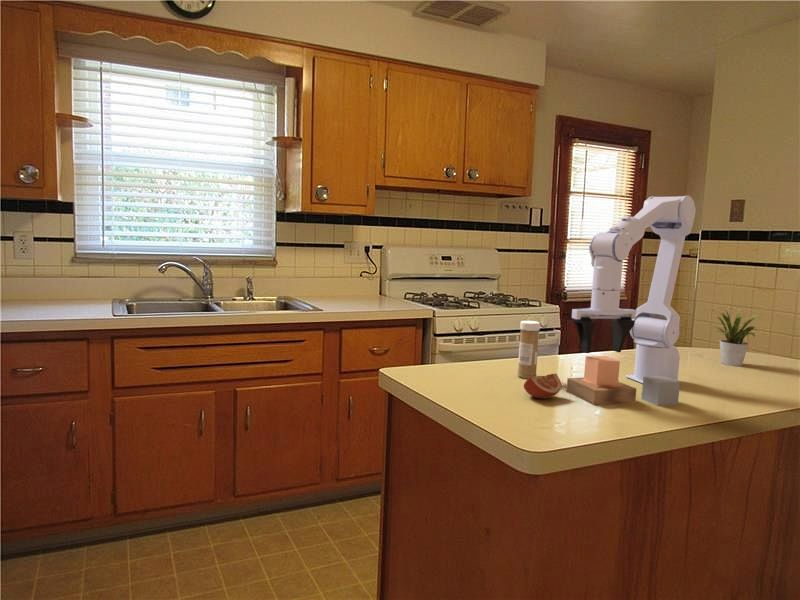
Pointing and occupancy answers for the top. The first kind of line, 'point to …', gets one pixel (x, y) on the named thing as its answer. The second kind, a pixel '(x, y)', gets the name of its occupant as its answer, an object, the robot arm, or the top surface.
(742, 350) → the house plant
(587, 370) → the terracotta cube
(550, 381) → the fruit slice
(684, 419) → the top surface
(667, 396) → the slate cube
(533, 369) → the sprinkles bottle
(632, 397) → the walnut plinth
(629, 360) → the top surface
